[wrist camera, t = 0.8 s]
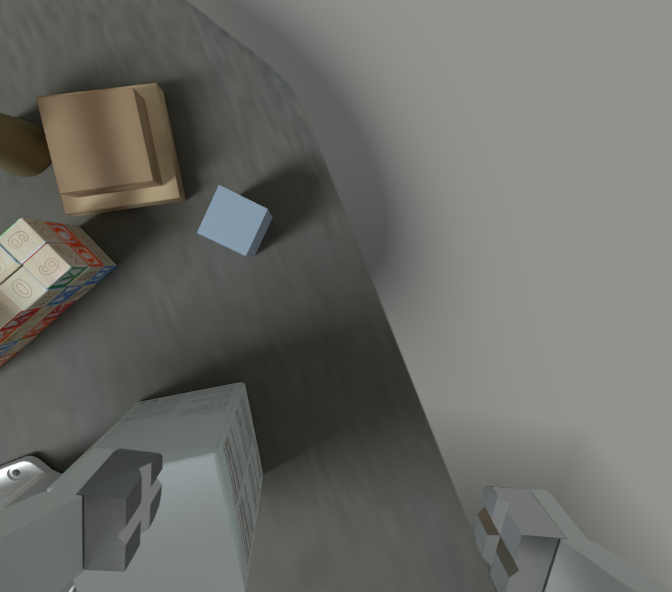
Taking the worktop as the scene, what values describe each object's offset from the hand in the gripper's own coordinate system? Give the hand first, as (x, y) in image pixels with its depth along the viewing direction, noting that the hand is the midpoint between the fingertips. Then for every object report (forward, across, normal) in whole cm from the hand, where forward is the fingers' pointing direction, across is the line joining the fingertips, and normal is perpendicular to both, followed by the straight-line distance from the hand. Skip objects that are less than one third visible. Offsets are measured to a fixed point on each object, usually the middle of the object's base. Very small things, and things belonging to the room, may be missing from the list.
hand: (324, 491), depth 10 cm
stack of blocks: (+35, -33, -8) cm, 49 cm away
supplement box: (+35, -13, -23) cm, 44 cm away
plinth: (+38, -24, +10) cm, 46 cm away
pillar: (+38, -10, +4) cm, 40 cm away
